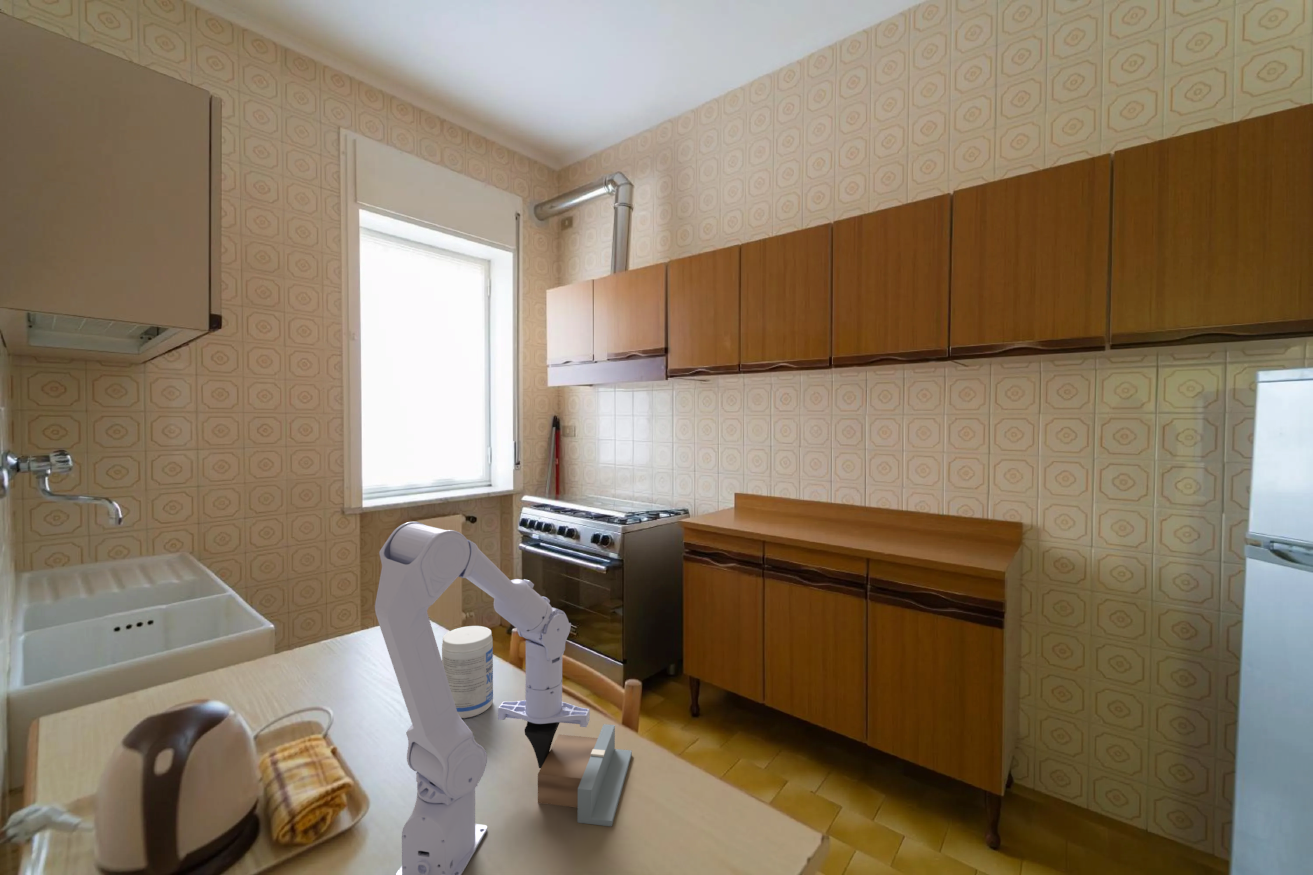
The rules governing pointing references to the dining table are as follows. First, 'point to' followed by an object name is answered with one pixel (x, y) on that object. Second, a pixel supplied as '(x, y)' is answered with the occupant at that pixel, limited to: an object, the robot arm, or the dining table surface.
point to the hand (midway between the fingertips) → (543, 764)
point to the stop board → (603, 780)
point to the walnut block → (564, 770)
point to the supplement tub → (469, 668)
